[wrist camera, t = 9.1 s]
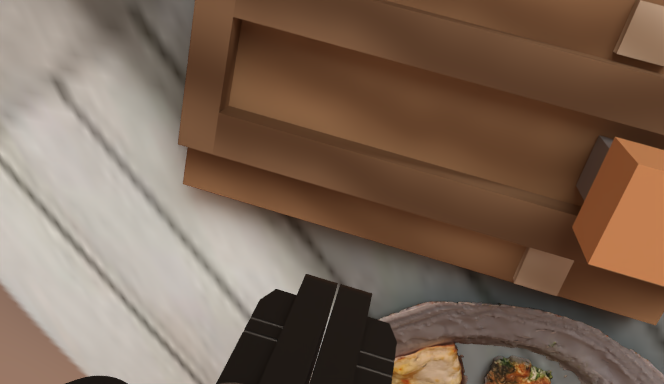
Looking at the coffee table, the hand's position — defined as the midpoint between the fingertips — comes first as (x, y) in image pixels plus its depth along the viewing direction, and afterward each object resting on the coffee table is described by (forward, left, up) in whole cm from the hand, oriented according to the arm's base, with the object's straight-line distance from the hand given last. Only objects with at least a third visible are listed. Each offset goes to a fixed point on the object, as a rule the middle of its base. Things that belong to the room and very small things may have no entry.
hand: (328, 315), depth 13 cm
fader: (0, +11, -19) cm, 22 cm away
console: (0, +3, -21) cm, 21 cm away
